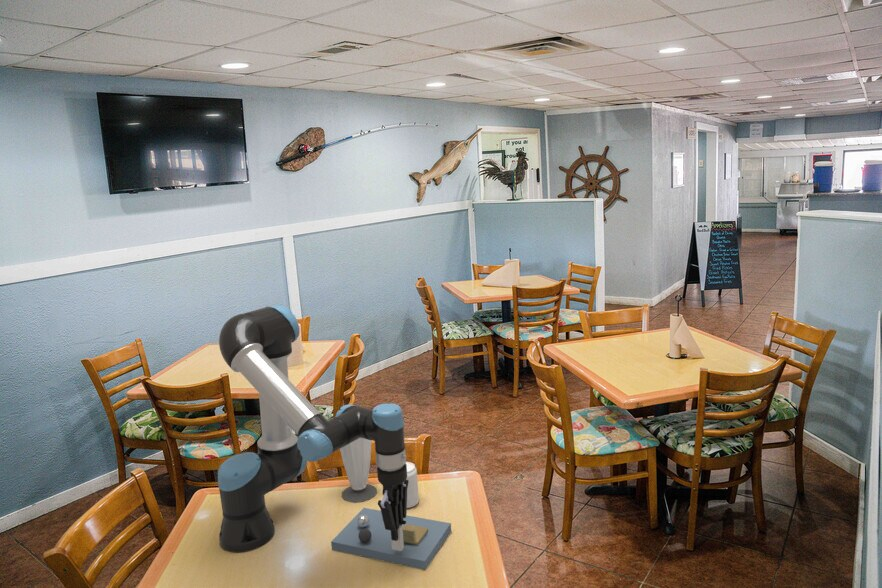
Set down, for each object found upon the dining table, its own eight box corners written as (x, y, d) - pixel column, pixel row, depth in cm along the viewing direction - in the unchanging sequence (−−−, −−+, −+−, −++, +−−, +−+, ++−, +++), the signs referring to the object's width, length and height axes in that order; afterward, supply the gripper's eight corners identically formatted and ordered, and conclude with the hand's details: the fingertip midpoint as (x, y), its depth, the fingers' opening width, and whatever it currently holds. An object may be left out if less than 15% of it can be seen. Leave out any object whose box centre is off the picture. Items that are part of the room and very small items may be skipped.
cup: (364, 480, 204) (359, 419, 200) (384, 493, 196) (379, 429, 192) (334, 493, 197) (328, 430, 193) (353, 506, 189) (347, 441, 184)
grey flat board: (331, 549, 167) (331, 541, 167) (364, 515, 184) (363, 507, 183) (425, 570, 157) (424, 561, 156) (451, 531, 173) (450, 523, 172)
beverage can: (415, 510, 184) (412, 474, 182) (389, 509, 186) (386, 472, 184) (421, 496, 192) (419, 461, 190) (396, 495, 194) (394, 460, 192)
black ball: (356, 543, 165) (355, 532, 164) (363, 536, 168) (361, 525, 168) (367, 546, 164) (366, 534, 163) (374, 538, 167) (373, 527, 166)
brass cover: (394, 540, 165) (393, 527, 165) (405, 526, 172) (404, 514, 171) (417, 545, 163) (416, 532, 162) (428, 530, 169) (427, 518, 168)
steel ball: (354, 529, 172) (353, 517, 171) (361, 522, 175) (360, 511, 175) (365, 531, 171) (364, 519, 170) (371, 524, 174) (370, 513, 173)
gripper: (393, 479, 148) (399, 566, 152) (415, 455, 159) (421, 537, 164) (365, 474, 151) (373, 560, 155) (390, 451, 162) (396, 532, 167)
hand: (398, 548), depth 160 cm, fingers closed
